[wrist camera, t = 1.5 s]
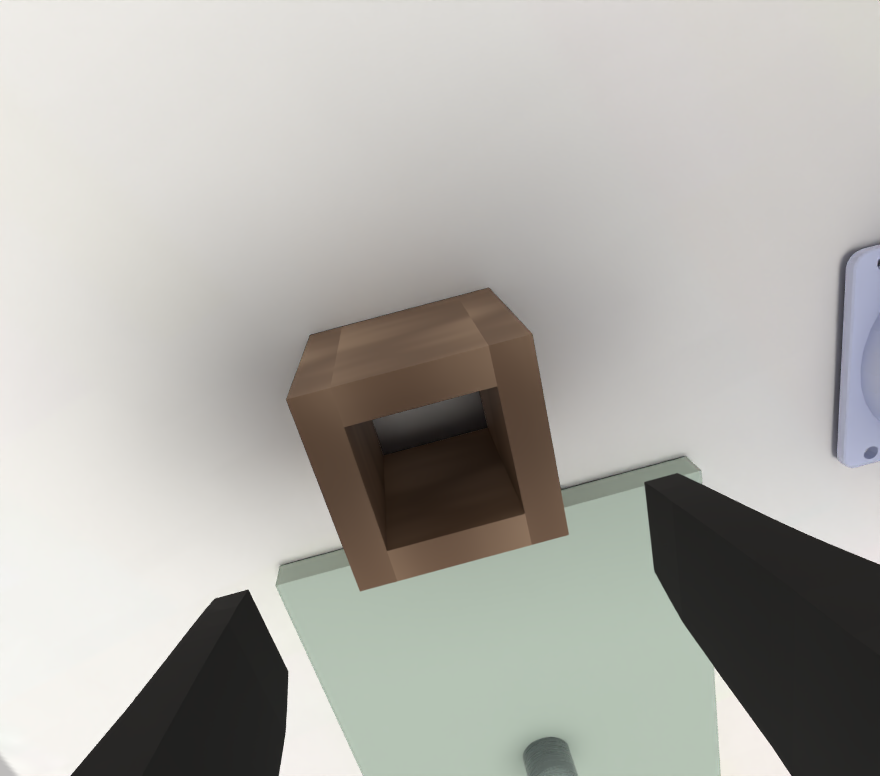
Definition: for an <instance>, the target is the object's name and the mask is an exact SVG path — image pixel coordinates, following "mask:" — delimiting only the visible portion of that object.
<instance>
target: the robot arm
mask: <svg viewBox="0 0 880 776" xmlns="http://www.w3.org/2000/svg"><path fill="white" fill-rule="evenodd" d="M879 259H880V244H879V245H875V246H871V247H868V248H864V249H861V250H859V251H857V252H855V253H854V254H853V255H852V256H851V257H850V259H849V261H848V262H847V266H846V279H845V299H844V320H843V340H842V361H841V382H840V402H839V423H838V443H837V458H838V460H839V461H840V463H842V464H844V465H845V466H847V467H850V468H854V467H859V466H863V465H866V464H870V463H874V462H877V461H880V265H879V266H877V264H878V260H879ZM866 450H867V451H866ZM865 451H866V452H865ZM644 485H645V494H646V503H647V512H648V521H649V530H650V539H651V548H652V557H653V566H654V572H655V574H656V575H657V577H658V579H659V581H660V583H661V585H662V587H663V588H664V590H665V592H666V594H667V596H668V598H669V599H670V601H671V603H672V605H673V606H674V608H675V610H676V612H677V613H678V615H679V617H680V619H681V620H682V622H683V624H684V625H685V627H686V628H687V629H688V631H689V632H690V634H691V635H692V637H693V638H694V639H695V641H696V642H697V643H698V645H699V646H700V648H701V649H702V650H703V652H704V653H705V655H706V656H707V657H708V659H709V660H710V662H711V663H712V664H713V666H714V667H715V669H716V670H717V671H718V673H719V674H720V676H721V677H722V678H723V680H724V681H725V682H726V684H727V685H728V687H729V688H730V689H731V691H732V692H733V693H734V695H735V696H736V698H737V699H738V700H739V702H740V703H741V704H742V706H743V707H744V709H745V710H746V711H747V713H748V714H749V716H750V717H751V718H752V720H753V721H754V722H755V724H756V725H757V727H758V728H759V729H760V731H761V732H762V733H763V735H764V736H765V738H766V739H767V740H768V742H769V743H770V745H771V746H772V747H773V749H774V750H775V752H776V753H777V755H778V756H779V758H780V759H781V761H782V762H783V764H784V765H785V767H786V768H787V770H788V771H789V773H790V774H791V776H880V565H879V564H877V563H874V562H872V561H869V560H867V559H865V558H862V557H860V556H857V555H855V554H852V553H850V552H847V551H845V550H843V549H840V548H838V547H835V546H833V545H830V544H828V543H826V542H823V541H821V540H819V539H816V538H814V537H812V536H810V535H807V534H805V533H803V532H801V531H798V530H796V529H794V528H792V527H790V526H787V525H785V524H783V523H781V522H779V521H777V520H774V519H772V518H770V517H768V516H766V515H764V514H762V513H760V512H758V511H755V510H753V509H751V508H749V507H747V506H745V505H743V504H741V503H739V502H737V501H735V500H733V499H731V498H729V497H727V496H725V495H723V494H721V493H719V492H717V491H714V490H712V489H710V488H708V487H706V486H704V485H702V484H700V483H698V482H696V481H694V480H692V479H690V478H688V477H685V476H683V475H681V474H679V473H675V474H671V475H668V476H664V477H660V478H657V479H653V480H649V481H646V482H644ZM287 695H288V670H287V668H286V666H285V664H284V662H283V660H282V658H281V656H280V654H279V651H278V649H277V647H276V645H275V643H274V641H273V639H272V637H271V635H270V633H269V631H268V629H267V627H266V625H265V623H264V621H263V619H262V617H261V615H260V612H259V610H258V608H257V606H256V604H255V602H254V600H253V598H252V596H251V594H250V592H249V590H245V591H241V592H238V593H234V594H230V595H227V596H223V597H219V598H216V599H214V600H213V601H212V602H211V604H210V605H209V606H208V607H207V608H206V609H205V611H204V612H203V613H202V614H201V616H200V617H199V618H198V619H197V621H196V622H195V623H194V624H193V626H192V627H191V628H190V629H189V631H188V632H187V633H186V635H185V636H184V637H183V638H182V640H181V641H180V642H179V643H178V645H177V646H176V647H175V649H174V650H173V651H172V652H171V654H170V655H169V656H168V658H167V659H166V660H165V661H164V663H163V664H162V665H161V667H160V668H159V669H158V670H157V672H156V673H155V674H154V675H153V677H152V678H151V679H150V680H149V682H148V683H147V684H146V686H145V687H144V688H143V689H142V691H141V692H140V693H139V694H138V696H137V697H136V698H135V699H134V701H133V702H132V703H131V704H130V706H129V707H128V708H127V709H126V711H125V712H124V713H123V714H122V715H121V717H120V718H119V719H118V720H117V721H116V723H115V724H114V725H113V726H112V727H111V728H110V730H109V731H108V732H107V733H106V734H105V736H104V737H103V738H102V739H101V740H100V741H99V743H98V744H97V745H96V746H95V747H94V749H93V750H92V751H91V752H90V753H89V754H88V756H87V757H86V758H85V759H84V760H83V762H82V763H81V764H80V765H79V766H78V767H77V769H76V770H75V771H74V772H73V773H72V775H71V776H279V770H280V764H281V758H282V752H283V746H284V739H285V732H286V716H287Z"/></svg>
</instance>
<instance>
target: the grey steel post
mask: <svg viewBox="0 0 880 776" xmlns="http://www.w3.org/2000/svg"><path fill="white" fill-rule="evenodd" d="M523 761H524V765H525V769H526V773H527V776H578V773H577V770H576V767H575V764H574V761H573V758H572V755H571V752H570V749H569V746H568V744H567V743H566V742H565V741H564V740H563V739H560V738H557V737H545V738H541V739H538V740H536V741H534V742H532V743H531V744H530V745H529V746H528V747H527V748H526V749H525V751H524V753H523Z"/></svg>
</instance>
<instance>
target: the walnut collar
mask: <svg viewBox="0 0 880 776" xmlns="http://www.w3.org/2000/svg"><path fill="white" fill-rule="evenodd" d="M478 391H479V392H480V397H481V401H482V405H483V410H484V414H485V418H486V423H487V427H488V428H484V429H480V430H476V431H473V432H469V433H465V434H461V435H458V436H454V437H450V438H447V439H443V440H439V441H435V442H432V443H428V444H424V445H420V446H417V447H413V448H409V449H406V450H402V451H398V452H394V453H391V454H387V455H383V452H382V449H381V446H380V443H379V440H378V436H377V433H376V430H375V427H374V424H373V421H372V420H373V419H377V418H381V417H384V416H388V415H392V414H395V413H399V412H403V411H407V410H410V409H414V408H418V407H422V406H425V405H429V404H433V403H437V402H440V401H444V400H448V399H452V398H455V397H459V396H463V395H467V394H470V393H474V392H478ZM286 401H287V403H288V406H289V409H290V411H291V414H292V416H293V419H294V422H295V424H296V427H297V429H298V432H299V435H300V437H301V440H302V442H303V445H304V448H305V450H306V453H307V455H308V458H309V461H310V463H311V466H312V468H313V471H314V473H315V476H316V479H317V481H318V484H319V486H320V489H321V492H322V494H323V497H324V499H325V502H326V505H327V507H328V510H329V512H330V515H331V518H332V520H333V523H334V525H335V528H336V531H337V533H338V536H339V538H340V541H341V544H342V546H343V549H344V551H345V554H346V557H347V559H348V562H349V564H350V567H351V570H352V572H353V575H354V577H355V580H356V583H357V585H358V588H359V590H360V591H364V590H368V589H371V588H375V587H379V586H382V585H386V584H390V583H394V582H397V581H401V580H405V579H408V578H412V577H416V576H419V575H423V574H427V573H430V572H434V571H438V570H441V569H445V568H449V567H453V566H456V565H460V564H464V563H467V562H471V561H475V560H478V559H482V558H486V557H489V556H493V555H497V554H500V553H504V552H508V551H512V550H515V549H519V548H523V547H526V546H530V545H534V544H537V543H541V542H545V541H548V540H552V539H556V538H559V537H563V536H567V535H569V532H568V526H567V521H566V515H565V510H564V504H563V499H562V493H561V488H560V482H559V477H558V471H557V466H556V460H555V455H554V449H553V444H552V439H551V433H550V428H549V422H548V417H547V411H546V406H545V400H544V395H543V389H542V384H541V378H540V373H539V367H538V362H537V356H536V351H535V345H534V340H533V335H532V333H531V332H530V331H529V330H528V329H527V328H526V327H525V326H524V324H523V323H522V322H521V321H520V320H519V319H518V318H517V317H516V316H515V315H514V314H513V313H512V312H511V311H510V309H509V308H508V307H507V306H506V305H505V304H504V303H503V302H502V301H501V300H500V299H499V298H498V297H497V296H496V295H495V293H494V292H493V291H492V290H491V289H490V288H486V289H482V290H478V291H474V292H471V293H467V294H463V295H459V296H455V297H452V298H448V299H444V300H440V301H437V302H433V303H429V304H425V305H422V306H418V307H414V308H410V309H406V310H403V311H399V312H395V313H391V314H388V315H384V316H380V317H376V318H373V319H369V320H365V321H361V322H357V323H354V324H350V325H346V326H342V327H339V328H335V329H331V330H327V331H324V332H320V333H316V334H312V335H310V336H309V339H308V342H307V344H306V347H305V350H304V353H303V355H302V358H301V361H300V363H299V366H298V369H297V371H296V374H295V377H294V380H293V382H292V385H291V388H290V390H289V393H288V396H287V398H286Z"/></svg>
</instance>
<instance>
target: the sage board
mask: <svg viewBox="0 0 880 776" xmlns="http://www.w3.org/2000/svg"><path fill="white" fill-rule="evenodd" d="M675 473H679V474H681V475H683V476H685V477H688V478H690V479H692V480H694V481H696V482H698V483H700V484H702V473H701V470H700V469H699V468H698V467H697V466H696V465H695V464H694V463H693V462H692V461H691V460H690V459H688V458H687V457H682V458H678V459H675V460H671V461H667V462H664V463H660V464H656V465H652V466H649V467H645V468H641V469H638V470H634V471H630V472H627V473H623V474H619V475H615V476H612V477H608V478H604V479H601V480H597V481H593V482H590V483H586V484H582V485H578V486H575V487H571V488H567V489H564V490H561V493H562V499H563V504H564V510H565V515H566V521H567V526H568V532H569V535H567V536H563V537H559V538H556V539H552V540H548V541H545V542H541V543H537V544H534V545H530V546H526V547H523V548H519V549H515V550H512V551H508V552H504V553H500V554H497V555H493V556H489V557H486V558H482V559H478V560H475V561H471V562H467V563H464V564H460V565H456V566H453V567H449V568H445V569H441V570H438V571H434V572H430V573H427V574H423V575H419V576H416V577H412V578H408V579H405V580H401V581H397V582H394V583H390V584H386V585H382V586H379V587H375V588H371V589H368V590H364V591H360V590H359V588H358V585H357V583H356V580H355V577H354V575H353V572H352V570H351V567H350V564H349V562H348V559H347V557H346V554H345V551H344V549H341V550H338V551H334V552H330V553H327V554H323V555H319V556H316V557H312V558H308V559H304V560H301V561H297V562H293V563H290V564H286V565H282V566H280V569H279V573H278V577H277V582H276V588H277V590H278V592H279V594H280V596H281V599H282V601H283V603H284V605H285V607H286V609H287V612H288V614H289V616H290V618H291V620H292V623H293V625H294V627H295V629H296V631H297V633H298V636H299V638H300V640H301V642H302V644H303V646H304V649H305V651H306V653H307V655H308V657H309V659H310V662H311V664H312V666H313V668H314V670H315V672H316V675H317V677H318V679H319V681H320V683H321V686H322V688H323V690H324V692H325V694H326V696H327V699H328V701H329V703H330V705H331V707H332V709H333V712H334V714H335V716H336V718H337V720H338V722H339V725H340V727H341V729H342V731H343V733H344V736H345V738H346V740H347V742H348V744H349V746H350V749H351V751H352V753H353V755H354V757H355V759H356V762H357V764H358V766H359V768H360V770H361V772H362V775H363V776H527V773H526V769H525V765H524V761H523V753H524V751H525V749H526V748H527V747H528V746H529V745H530V744H531V743H532V742H534V741H536V740H538V739H541V738H545V737H557V738H560V739H563V740H564V741H565V742H566V743H567V744H568V746H569V749H570V752H571V755H572V758H573V761H574V764H575V767H576V770H577V773H578V776H721V774H720V758H719V742H718V726H717V710H716V695H715V679H714V666H713V664H712V663H711V662H710V660H709V659H708V657H707V656H706V655H705V653H704V652H703V650H702V649H701V648H700V646H699V645H698V643H697V642H696V641H695V639H694V638H693V637H692V635H691V634H690V632H689V631H688V629H687V628H686V627H685V625H684V624H683V622H682V620H681V619H680V617H679V615H678V613H677V612H676V610H675V608H674V606H673V605H672V603H671V601H670V599H669V598H668V596H667V594H666V592H665V590H664V588H663V587H662V585H661V583H660V581H659V579H658V577H657V575H656V574H655V572H654V566H653V557H652V548H651V539H650V530H649V521H648V512H647V503H646V494H645V485H644V482H646V481H649V480H653V479H657V478H660V477H664V476H668V475H671V474H675Z"/></svg>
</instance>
